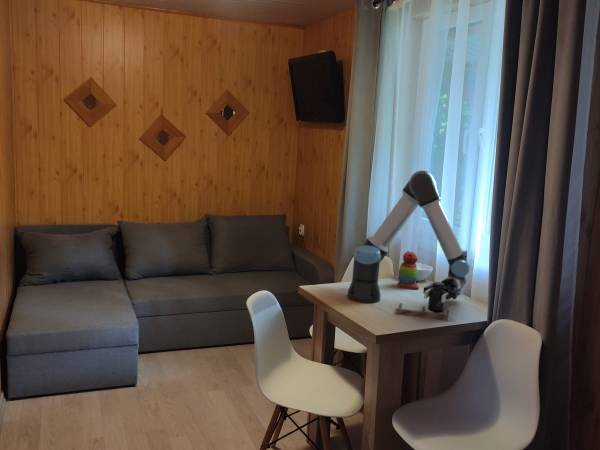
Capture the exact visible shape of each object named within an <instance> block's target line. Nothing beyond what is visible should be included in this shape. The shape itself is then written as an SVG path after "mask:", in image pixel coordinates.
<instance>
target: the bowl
mask: <svg viewBox="0 0 600 450" xmlns="http://www.w3.org/2000/svg"><path fill="white" fill-rule="evenodd" d="M415 264H416V267H417V279H416V281H417V282H421V281H422V280H423V281H424V280H425V279H426V278H427V277H428V276H429V275H430V274H431V273H432V272H433V270H434V268H433V266H431V265H429V264H424V263H419V262H416V263H415ZM423 281H422V282H423Z"/></svg>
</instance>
